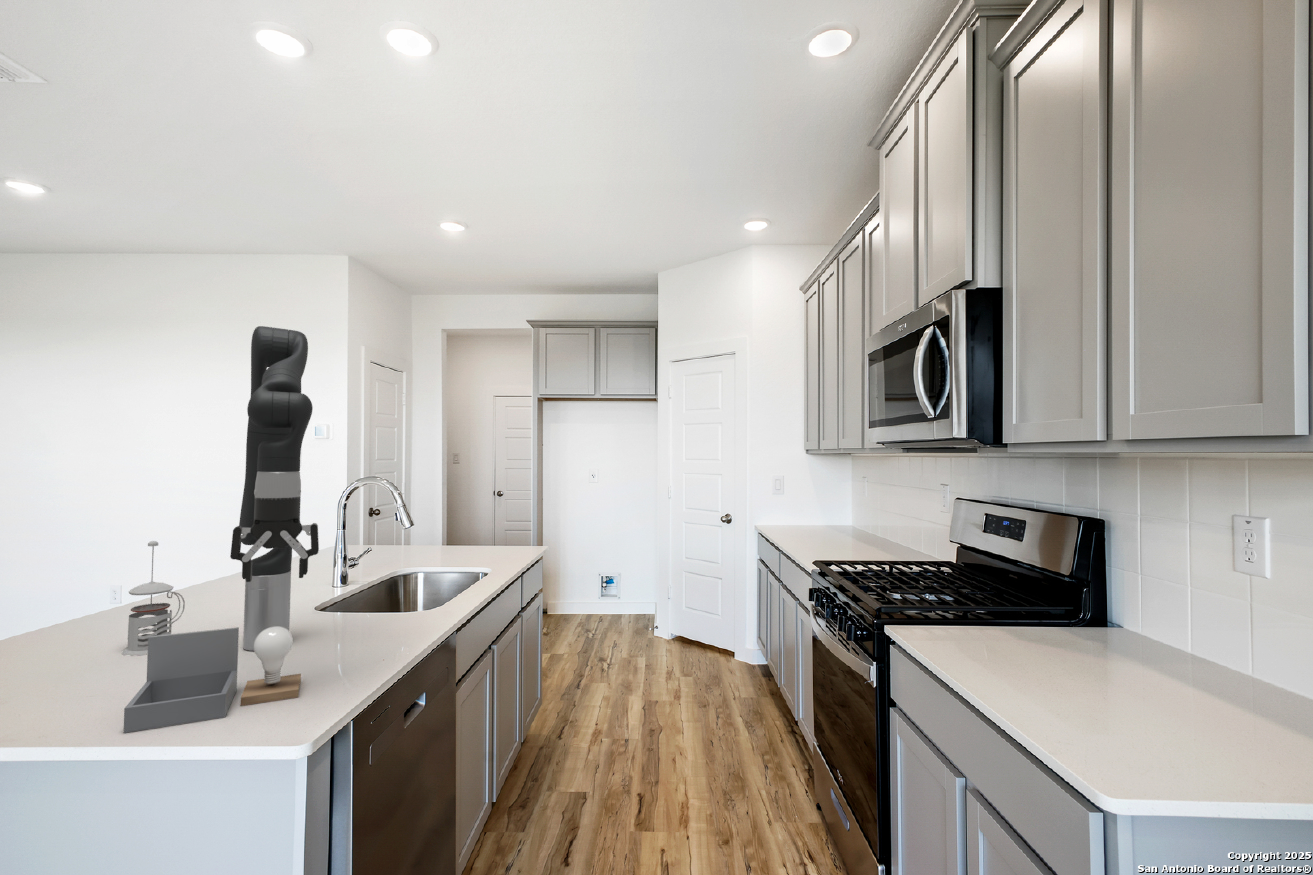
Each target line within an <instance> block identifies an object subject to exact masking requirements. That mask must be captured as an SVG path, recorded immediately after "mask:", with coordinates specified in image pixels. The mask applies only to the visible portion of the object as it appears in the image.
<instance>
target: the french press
mask: <svg viewBox="0 0 1313 875" xmlns="http://www.w3.org/2000/svg"><path fill="white" fill-rule="evenodd" d="M157 546H159V542H158V541H157V540H151V541H149V542H148V543H147V547H152V552H151V553H152V556H151V558H152V559H151V581H150V582H147V583H142V584H139V585H137V586H135V587H132V589H130V590H129V591H128V594H129V595H131V596H150V603H148V604H147V603H146V604H141V605H136V606H134V607H131V608H130V612H132V614H131V613H130V614H129V615H128V624H127V625H128V626H127V627H128V628H127V647H126V648H124V649H123V650H122V651H123V652H121V655H123V656H126V655H140V656H145V655H147V656H148V637H149V636H157V635H167V634H172V625H173V623H174V624H175V622H177V621H179V619H180V618H181V617H182V615H183V613H184V610H185V607H186V604H185V603H186V602H185V600H184V599H185V598H184V597H183V595H182V594H181V593H179V592H176V591H172V590H174V586H173V585H170V584H168V583H164V582H156V581H154V580H153V578H154V576H153V575H154V573H153V572H154V552H155V551H154V548H155V547H157ZM164 593H166V597H167V599H172V598H173V595H175V596H176V597H177V599H178V600H177V601H178V609H177V611H176V614H175V615H174V616H173V615H172V614H173V610H172V609H170V610H168V608H170V607H171V603H169V602H155V603H153V600H152V599H153V595H159V594H164ZM169 593H171V595H170V596H169ZM180 598H181V599H182V602H183V606H182V611H181V613H180V615H179V616H178V614H179V612H180V610H181V600H180ZM144 616H145V617H144ZM146 616H147V617H146ZM172 616H173V617H172ZM177 616H178V617H177ZM176 617H177V618H176ZM175 618H176V619H175ZM168 619H169V620H168ZM174 619H175V620H174ZM148 627H151V628H148ZM141 628H142V629H141ZM151 632H153V633H151ZM140 634H141V635H140Z"/></svg>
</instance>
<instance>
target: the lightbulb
mask: <svg viewBox="0 0 1313 875" xmlns="http://www.w3.org/2000/svg"><path fill="white" fill-rule="evenodd" d="M293 642H294V639H293V635H292V633H291V631H290V630H289V631H288V630H287V629H286V628H284V627H280V626H273V627H269V628H267V629H265V630H263V631H262V632H261V633H260V634H259V635H258V636H257V637H256V639H255V642H254V654H255V655H256V656H257V658H258V659H259V660H260V662H261V665H262V668H263V671H264V678H263V679H264V680H265V681H264V683H265V684H268V685H274V684H276V683H278V682H279V681H280V680H281V675H282V673H281V671H282V667H283V665H284V660H285V658H287V655H288V654H289V652H290V651H291V650H292V647H293Z"/></svg>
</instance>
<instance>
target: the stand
mask: <svg viewBox="0 0 1313 875" xmlns="http://www.w3.org/2000/svg"><path fill="white" fill-rule="evenodd" d="M264 679H265V678H259V679H258V678H257V679H252V680H247V681H246V684H245V686H244V688H243V691H242V693H241V695H240V704H239V705H240V707H243V706H250V705H257V704H263V703H271V702H277V701H282V700H289V699H290V698H291V699H296V698H299V694H300V690H301V681H302V673H296V674H288V675H282V676H281V680H280V681H279V682H278V683H276V684H274V685H268V684H265V683H264V681H265V680H264ZM291 699H290V700H291Z"/></svg>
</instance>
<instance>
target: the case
mask: <svg viewBox="0 0 1313 875" xmlns="http://www.w3.org/2000/svg"><path fill="white" fill-rule="evenodd" d="M239 628H240V627H229V628H221V629H219V628H218V629H209V630H208V629H207V630H201V631H200V630H197V631H189V632H179V633H171V634H167V635H157V636H149V637H148V655H147V658H146V662H147V663H146V682H144V684H143V685H142V687H141V688H140V689H138V691H137V692H136V693H135V695H134V696H133V697H132V699H131V700H130V701H128V703H127V704H126V706H125V707H124V710H123V733H122V734H127V733H133V732H139V731H146V730H147V731H148V730H153V729H158V728H159V729H160V728H165V727H171V726H179V725H184V724H190V723H196V722H203V721H210V720H216V719H223V718H226V716H227V713H228V712H229V709H230V706H231V704H232V702H233V699H234V697H235V694H236V692H237V690H238V665H239V663H238V662H239V633H240V629H239Z"/></svg>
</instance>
